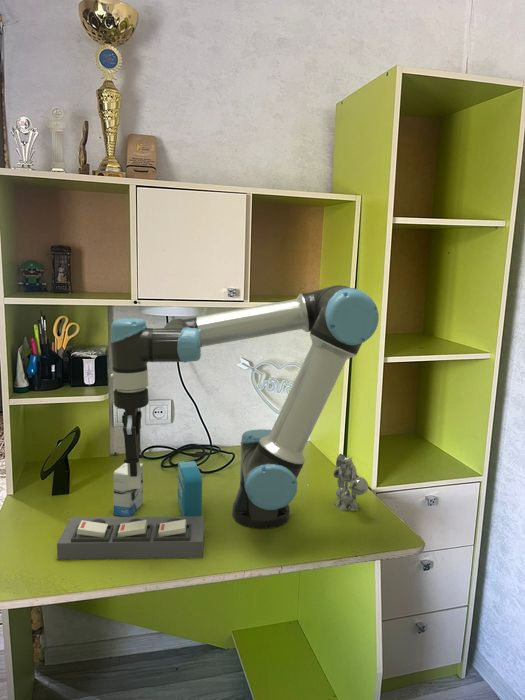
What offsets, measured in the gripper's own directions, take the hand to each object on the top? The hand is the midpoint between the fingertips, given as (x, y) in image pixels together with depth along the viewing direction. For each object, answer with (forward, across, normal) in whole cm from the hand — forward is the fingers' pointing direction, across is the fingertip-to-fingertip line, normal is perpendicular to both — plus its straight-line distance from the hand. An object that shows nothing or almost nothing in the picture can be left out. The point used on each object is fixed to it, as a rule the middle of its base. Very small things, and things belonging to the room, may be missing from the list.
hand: (134, 487), depth 127 cm
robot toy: (+16, -15, +55) cm, 60 cm away
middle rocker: (+9, +3, 0) cm, 9 cm away
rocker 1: (+8, +3, -9) cm, 13 cm away
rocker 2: (+9, +3, +8) cm, 13 cm away
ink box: (+14, -18, -4) cm, 23 cm away
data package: (+15, -16, +12) cm, 25 cm away
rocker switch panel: (+14, 0, 0) cm, 14 cm away
